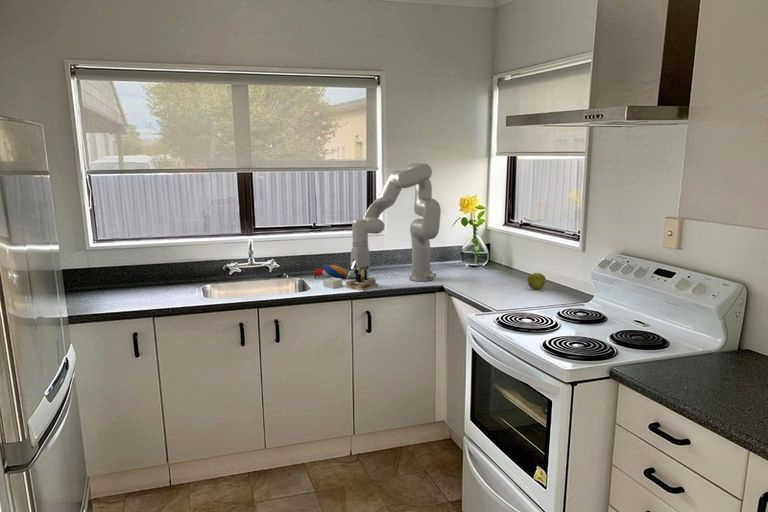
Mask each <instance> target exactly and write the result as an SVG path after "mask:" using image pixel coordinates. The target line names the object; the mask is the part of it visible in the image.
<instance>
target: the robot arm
mask: <svg viewBox="0 0 768 512" xmlns="http://www.w3.org/2000/svg"><path fill="white" fill-rule="evenodd" d="M432 175H433V170H432V167H431V165H429V164H428V163H421V162H420V163H418V162H417V163H416V162H413V163H409V164H408V165H407V166H406V168H405V170H393V171H392V172H391V173H389V175H388V177H387V179H386V181H385V183H384V185H383V188H382V189H381V191H380V194H379V195H378V197H377V198H376V199H374V201H373V202H372V203H371V204H370V205H369V207H368V208H367V210H366V212H365V214H364V216H363V218H357V219H356V218H355V219H353V220H352V222H351V223H352V224H351V225H352V227H351V229H352V247H351V251H350V268H351V270H353V271H354V273H355V275H354V279H355V280H356V282H361V274H360V269H361V268H364V273H365V281H367V280H368V278H367V273H366V272H367V270H369V268H370V267H371V258H370V256H371V255H370V249H369V234H372V235H375V234H382V232H383V231H384V229H385V223H384V221H383V220H382V219H379V218H380V216H381V214H382V213H383V212H384V211H386V210H387V209H389V208H390V207H392V206H394V204H395V203H396V201H397V200H398V197H399V195H400V193H401V191H402V190H403V189H409V188H412V187H414V189H415V192H414V204H413V205H414V206H413V207H414V208H413V210H414V214H416V215H417V216H420V217H422V218H417V219H413V221H411V223H410V228H409V233H410V238H411V239H410V240H411V275H408V276H409V277H408V279H409V280H411V281H413V282H428V281H429V282H430V281H432V280H434V279H435V278H436V276H437V274H436V273H433V270H431V241H430V240H433V239H435V238H437V236H438V234H439V231H440V223H441V211H442V210H441V205H440V203H439V202H438V201H437V200H436V199H434V198H433V193H432V192H433V186H432V182H431V180H430V178H431V177H432ZM357 269H358V270H357Z"/></svg>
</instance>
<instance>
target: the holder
mask: <svg viewBox="0 0 768 512" xmlns="http://www.w3.org/2000/svg"><path fill="white" fill-rule="evenodd" d="M322 286H323V288H330V289H336V287H337V288H339V286H340V287H342V286H343V278H334V277H332V276H331V277H329V278H325V279H322Z"/></svg>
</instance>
